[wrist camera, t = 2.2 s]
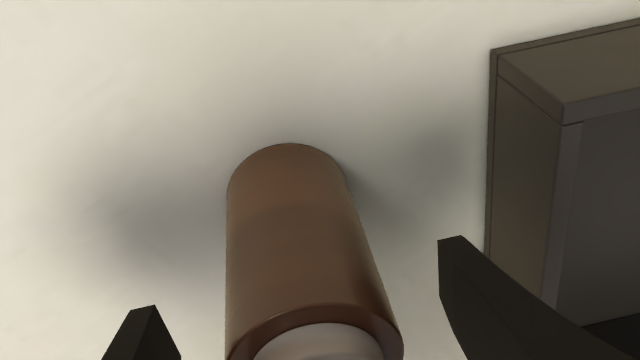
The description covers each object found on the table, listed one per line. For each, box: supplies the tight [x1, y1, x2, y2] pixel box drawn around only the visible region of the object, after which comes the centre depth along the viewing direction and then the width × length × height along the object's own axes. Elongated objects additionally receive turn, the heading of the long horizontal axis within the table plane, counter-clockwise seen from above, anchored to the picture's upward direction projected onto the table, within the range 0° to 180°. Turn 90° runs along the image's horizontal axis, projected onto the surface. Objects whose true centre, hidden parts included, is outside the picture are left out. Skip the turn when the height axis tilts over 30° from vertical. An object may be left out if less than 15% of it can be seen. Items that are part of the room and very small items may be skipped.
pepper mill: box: [225, 144, 404, 360], centre depth 13 cm, size 4×4×8 cm
